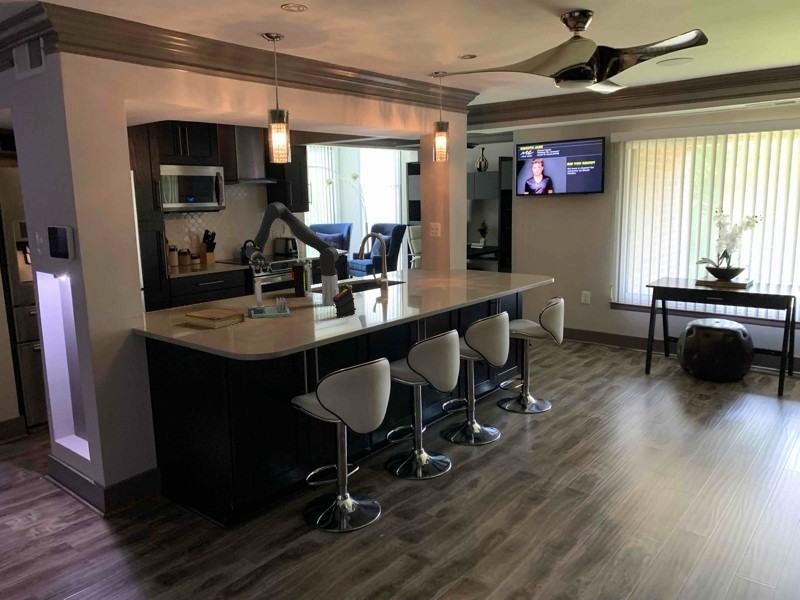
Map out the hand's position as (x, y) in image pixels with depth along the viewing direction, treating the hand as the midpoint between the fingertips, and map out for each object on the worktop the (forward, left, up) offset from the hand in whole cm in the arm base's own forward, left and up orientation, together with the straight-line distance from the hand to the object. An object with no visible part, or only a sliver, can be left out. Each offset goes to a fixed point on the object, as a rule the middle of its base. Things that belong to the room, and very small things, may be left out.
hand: (262, 266), depth 339 cm
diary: (+9, +40, -25) cm, 48 cm away
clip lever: (-1, +9, -22) cm, 24 cm away
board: (-9, +12, -24) cm, 28 cm away
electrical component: (-5, -50, -24) cm, 56 cm away
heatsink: (-7, +12, -24) cm, 28 cm away
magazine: (-51, +13, -24) cm, 58 cm away
